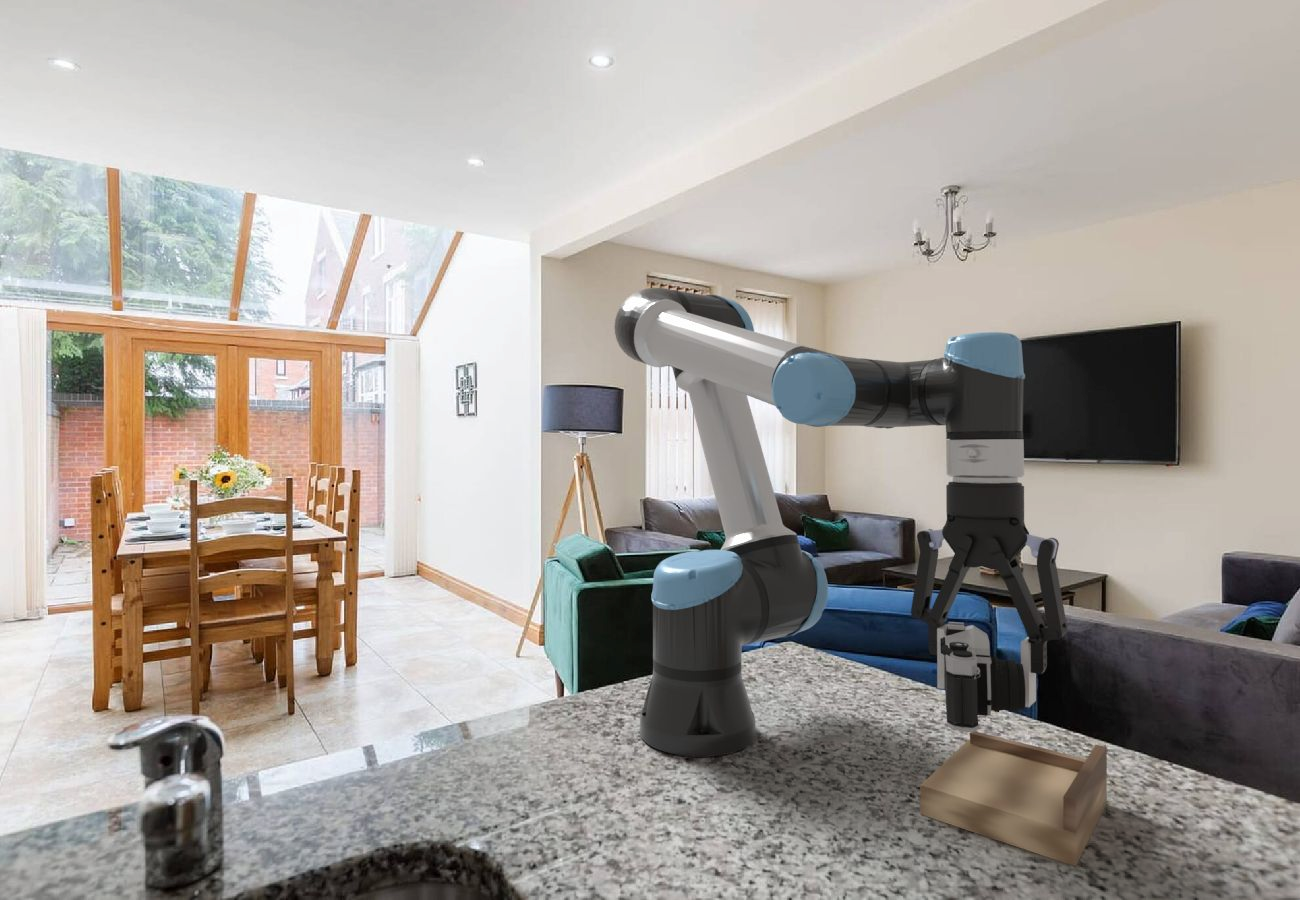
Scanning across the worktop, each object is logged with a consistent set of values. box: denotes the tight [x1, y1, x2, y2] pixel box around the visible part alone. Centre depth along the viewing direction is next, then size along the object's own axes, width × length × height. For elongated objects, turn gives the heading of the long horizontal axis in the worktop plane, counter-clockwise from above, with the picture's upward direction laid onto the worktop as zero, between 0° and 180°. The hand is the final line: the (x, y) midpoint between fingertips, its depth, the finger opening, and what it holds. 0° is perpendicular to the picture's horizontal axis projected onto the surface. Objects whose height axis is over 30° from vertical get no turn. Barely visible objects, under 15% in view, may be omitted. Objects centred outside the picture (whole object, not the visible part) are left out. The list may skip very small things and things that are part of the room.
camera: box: [940, 621, 1026, 733], centre depth 73 cm, size 13×8×9 cm, turn 161°
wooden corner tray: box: [919, 731, 1108, 867], centre depth 75 cm, size 14×15×6 cm
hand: (985, 693), depth 77 cm, fingers closed on camera, 8 cm apart
